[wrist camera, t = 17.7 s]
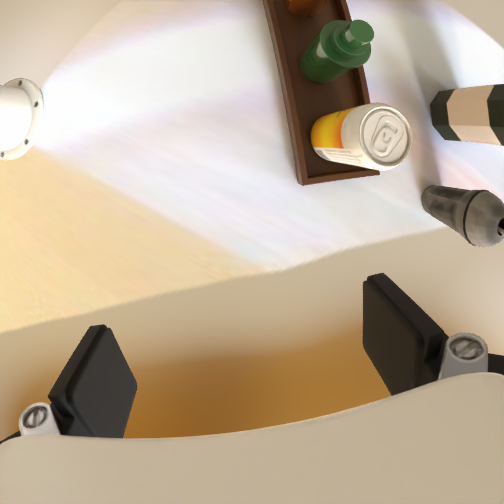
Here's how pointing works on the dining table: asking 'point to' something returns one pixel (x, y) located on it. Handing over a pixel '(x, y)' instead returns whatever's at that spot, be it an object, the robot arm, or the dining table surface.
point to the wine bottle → (470, 114)
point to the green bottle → (336, 51)
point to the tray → (313, 89)
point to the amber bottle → (305, 7)
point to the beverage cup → (467, 213)
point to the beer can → (363, 136)
